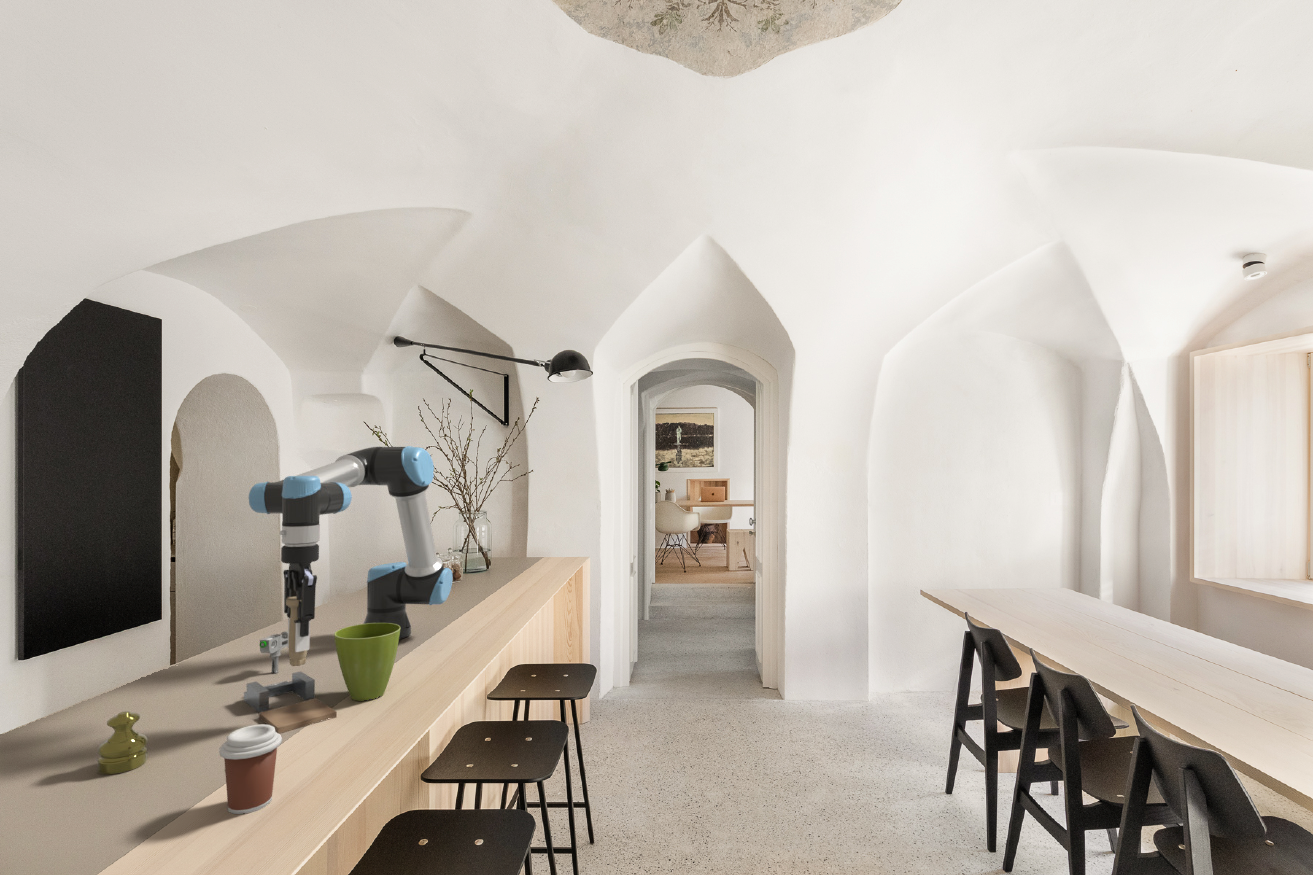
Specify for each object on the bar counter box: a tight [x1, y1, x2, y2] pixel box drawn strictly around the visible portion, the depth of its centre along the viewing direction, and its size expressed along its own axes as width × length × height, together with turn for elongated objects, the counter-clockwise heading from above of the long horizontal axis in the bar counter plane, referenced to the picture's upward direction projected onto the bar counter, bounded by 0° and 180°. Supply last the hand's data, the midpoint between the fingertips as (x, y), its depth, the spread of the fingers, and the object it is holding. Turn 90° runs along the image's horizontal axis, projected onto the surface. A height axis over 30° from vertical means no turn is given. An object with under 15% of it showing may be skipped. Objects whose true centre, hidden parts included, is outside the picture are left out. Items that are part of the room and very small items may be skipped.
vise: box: [243, 671, 316, 713], centre depth 160 cm, size 12×13×4 cm
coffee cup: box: [219, 723, 283, 815], centre depth 112 cm, size 9×9×12 cm
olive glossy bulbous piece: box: [97, 710, 149, 775], centre depth 126 cm, size 7×7×10 cm
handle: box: [286, 596, 308, 667], centre depth 149 cm, size 5×6×15 cm
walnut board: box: [258, 697, 338, 734], centre depth 148 cm, size 12×12×1 cm
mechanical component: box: [259, 630, 288, 674], centre depth 179 cm, size 3×10×10 cm, turn 174°
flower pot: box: [333, 623, 400, 702], centre depth 162 cm, size 15×15×16 cm
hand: (298, 648), depth 149 cm, fingers closed on handle, 4 cm apart
